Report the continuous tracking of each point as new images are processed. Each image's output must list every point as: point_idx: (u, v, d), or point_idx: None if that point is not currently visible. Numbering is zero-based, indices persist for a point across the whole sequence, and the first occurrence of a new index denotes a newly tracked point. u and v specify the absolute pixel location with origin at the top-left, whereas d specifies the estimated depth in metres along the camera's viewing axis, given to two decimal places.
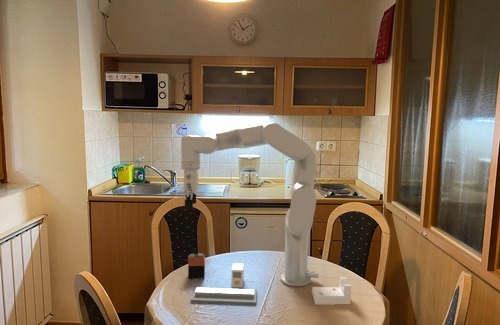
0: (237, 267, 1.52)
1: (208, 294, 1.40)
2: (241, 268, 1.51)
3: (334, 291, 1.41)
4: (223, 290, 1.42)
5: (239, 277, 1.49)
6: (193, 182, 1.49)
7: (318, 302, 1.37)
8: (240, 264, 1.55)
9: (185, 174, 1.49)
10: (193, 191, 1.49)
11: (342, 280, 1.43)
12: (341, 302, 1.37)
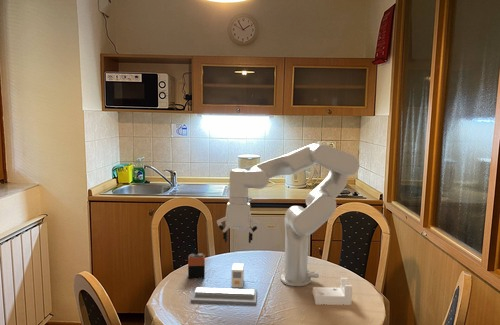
0: (237, 267, 1.52)
1: (208, 294, 1.40)
2: (241, 268, 1.51)
3: (335, 291, 1.41)
4: (223, 290, 1.42)
5: (239, 277, 1.49)
6: None
7: (318, 302, 1.37)
8: (240, 264, 1.55)
9: (249, 208, 1.48)
10: None
11: (343, 281, 1.42)
12: (342, 302, 1.37)
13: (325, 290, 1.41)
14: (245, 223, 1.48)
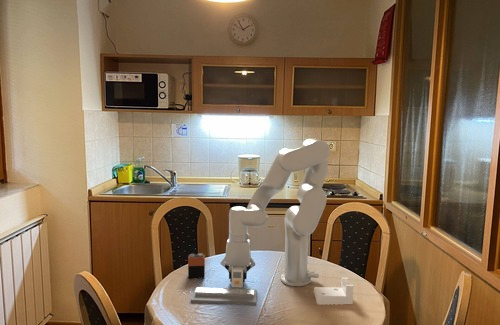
0: (237, 267, 1.52)
1: (208, 294, 1.40)
2: (241, 268, 1.51)
3: (336, 291, 1.41)
4: (223, 290, 1.42)
5: (239, 277, 1.49)
6: (250, 251, 1.53)
7: (320, 302, 1.37)
8: None
9: (248, 246, 1.50)
10: None
11: (344, 281, 1.43)
12: (343, 302, 1.37)
13: (326, 290, 1.42)
14: (245, 260, 1.50)
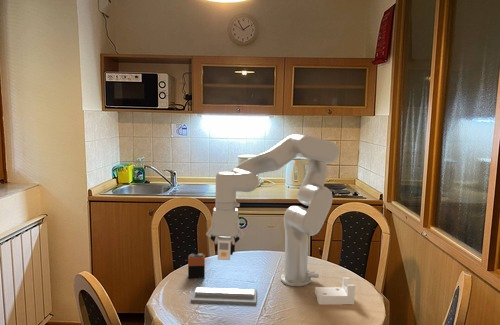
0: (224, 238, 1.38)
1: (208, 294, 1.40)
2: (228, 239, 1.37)
3: (337, 291, 1.41)
4: (223, 290, 1.42)
5: (226, 249, 1.36)
6: None
7: (321, 302, 1.37)
8: None
9: (237, 215, 1.36)
10: None
11: (346, 280, 1.43)
12: (345, 302, 1.38)
13: (327, 290, 1.42)
14: (232, 231, 1.36)
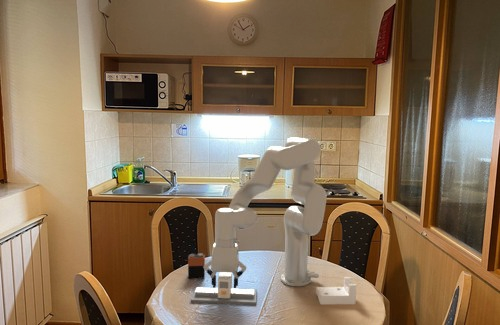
0: (224, 276, 1.40)
1: (208, 294, 1.40)
2: (228, 277, 1.39)
3: (339, 291, 1.41)
4: None
5: (226, 287, 1.37)
6: (238, 256, 1.41)
7: (323, 302, 1.37)
8: (228, 273, 1.43)
9: (236, 251, 1.38)
10: None
11: (347, 280, 1.43)
12: (346, 302, 1.38)
13: (329, 290, 1.42)
14: (232, 267, 1.38)
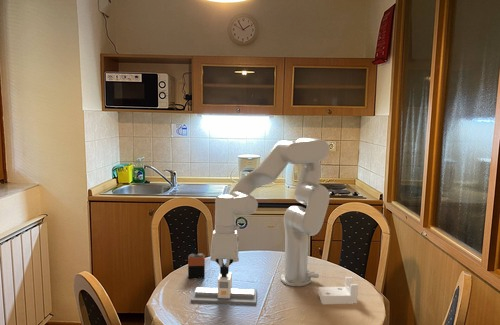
0: None
1: (208, 294, 1.40)
2: (228, 277, 1.39)
3: (340, 291, 1.41)
4: None
5: (226, 287, 1.37)
6: None
7: (325, 302, 1.38)
8: (228, 273, 1.43)
9: (236, 238, 1.37)
10: None
11: (348, 280, 1.43)
12: (348, 301, 1.38)
13: (330, 290, 1.42)
14: (232, 253, 1.37)
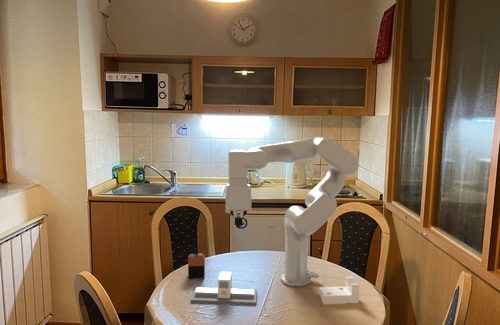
0: (224, 276, 1.40)
1: (208, 294, 1.40)
2: (228, 277, 1.39)
3: (341, 290, 1.41)
4: None
5: (226, 287, 1.37)
6: None
7: (326, 302, 1.38)
8: (228, 273, 1.43)
9: (249, 190, 1.45)
10: None
11: (349, 280, 1.44)
12: (349, 301, 1.38)
13: (331, 289, 1.42)
14: (246, 204, 1.45)
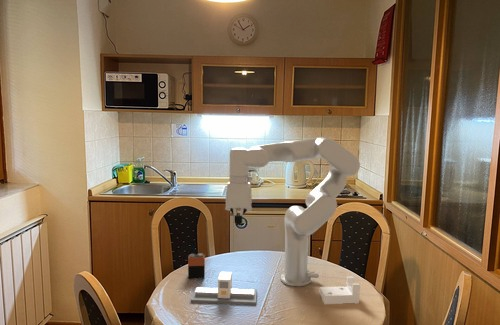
0: (224, 276, 1.40)
1: (208, 294, 1.40)
2: (228, 277, 1.39)
3: (342, 290, 1.41)
4: None
5: (226, 287, 1.37)
6: None
7: (327, 302, 1.38)
8: (228, 273, 1.43)
9: (249, 188, 1.46)
10: None
11: (350, 280, 1.44)
12: (350, 301, 1.38)
13: (332, 289, 1.42)
14: (246, 202, 1.46)
